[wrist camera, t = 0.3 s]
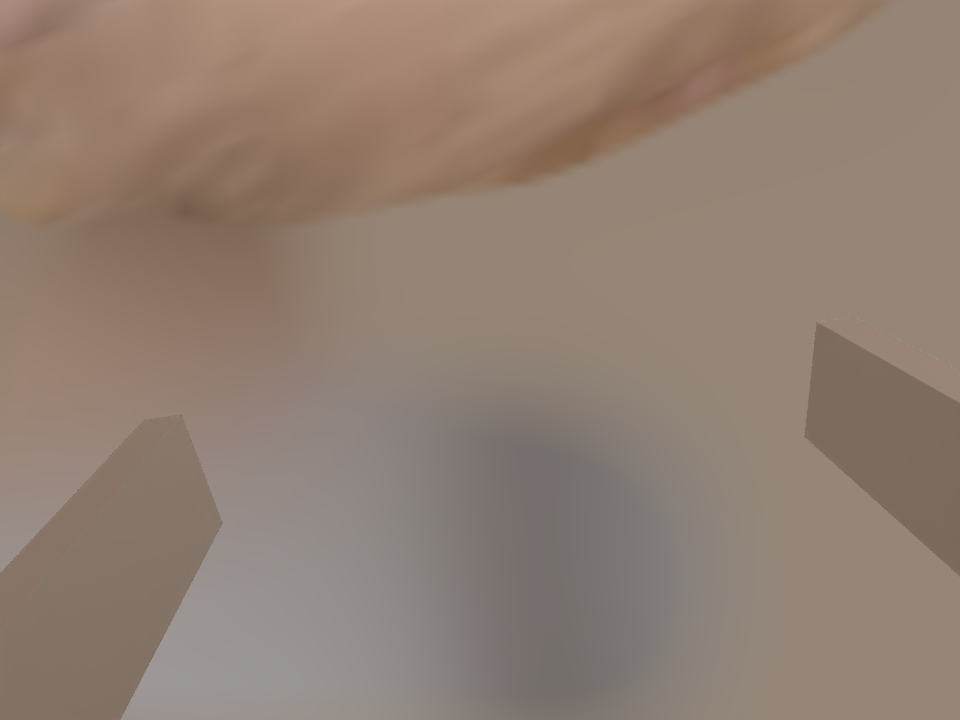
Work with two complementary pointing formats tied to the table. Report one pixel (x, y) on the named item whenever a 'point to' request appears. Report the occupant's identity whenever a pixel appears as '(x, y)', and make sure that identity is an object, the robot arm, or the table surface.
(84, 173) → the table surface
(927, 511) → the robot arm
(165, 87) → the table surface
